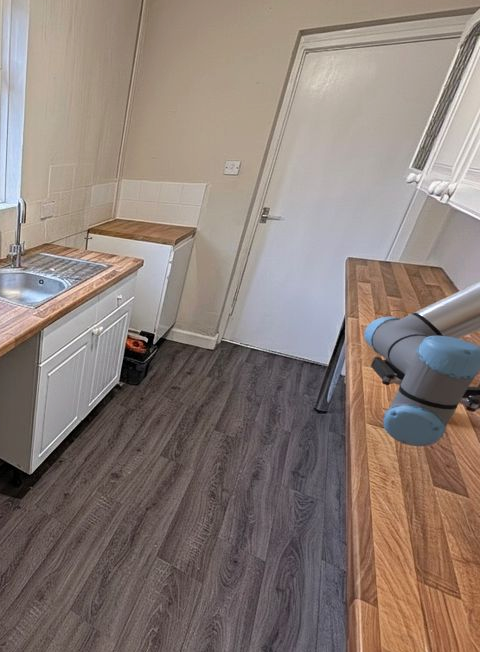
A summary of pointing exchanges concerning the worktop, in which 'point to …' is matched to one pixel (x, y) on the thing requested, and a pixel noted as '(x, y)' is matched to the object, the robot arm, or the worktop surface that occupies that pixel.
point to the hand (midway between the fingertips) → (439, 368)
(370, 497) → the worktop surface
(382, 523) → the worktop surface
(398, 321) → the robot arm
